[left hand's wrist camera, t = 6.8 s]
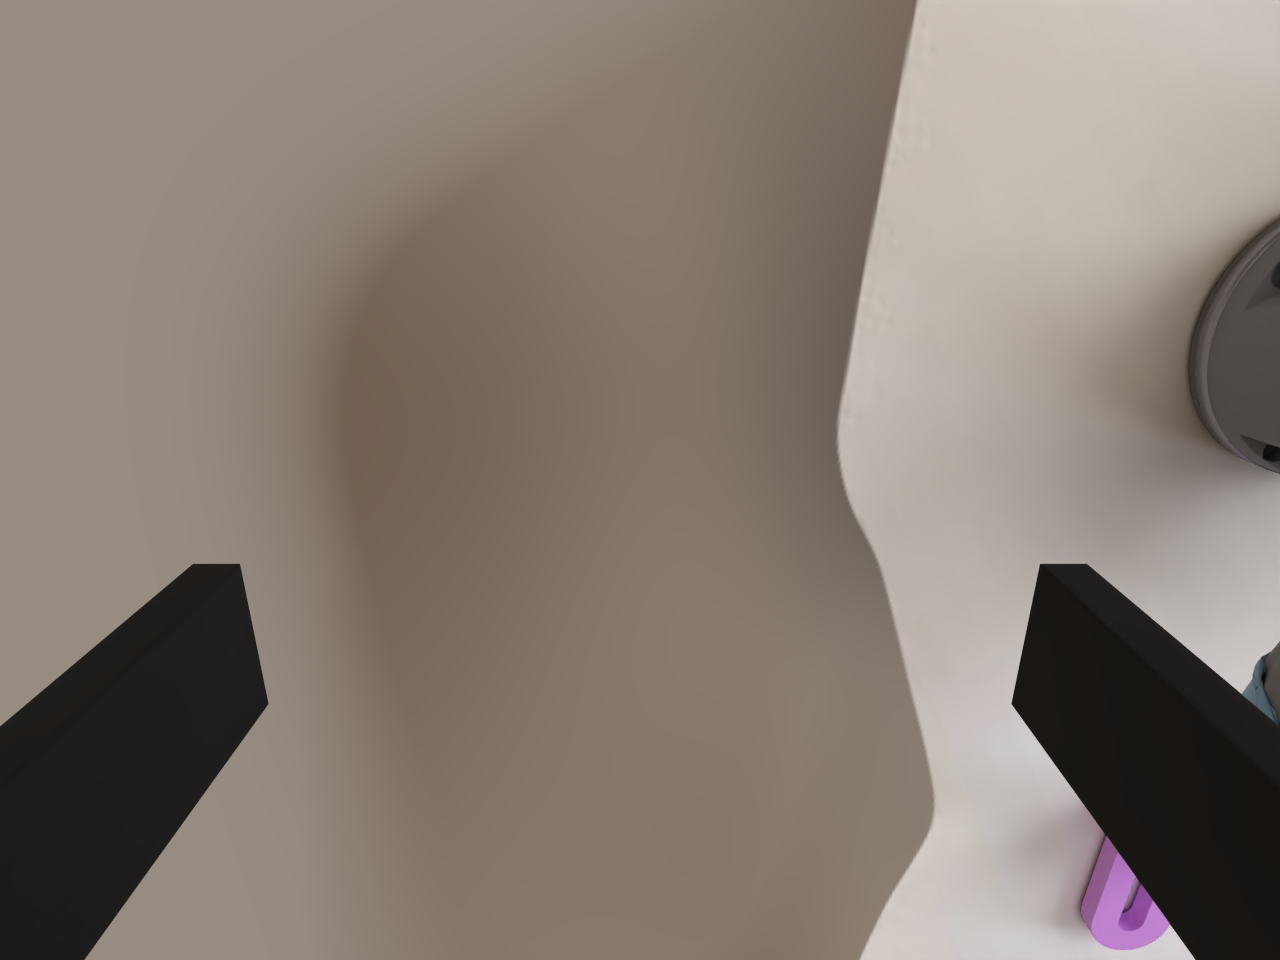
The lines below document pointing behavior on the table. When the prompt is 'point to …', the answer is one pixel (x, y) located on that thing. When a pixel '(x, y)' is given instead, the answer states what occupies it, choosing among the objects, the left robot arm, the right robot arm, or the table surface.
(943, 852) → the table surface
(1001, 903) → the table surface
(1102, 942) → the bracket
